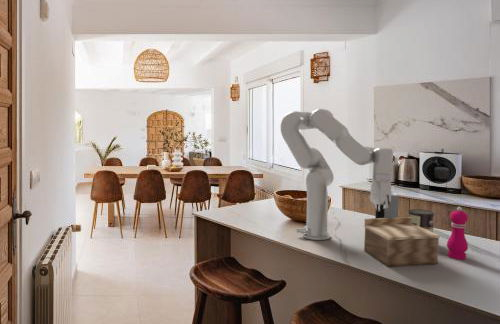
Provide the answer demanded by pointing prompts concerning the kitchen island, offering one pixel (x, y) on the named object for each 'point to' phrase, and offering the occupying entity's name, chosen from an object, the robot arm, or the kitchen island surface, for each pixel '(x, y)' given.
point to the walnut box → (401, 250)
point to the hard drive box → (392, 207)
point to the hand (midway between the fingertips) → (379, 219)
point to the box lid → (398, 228)
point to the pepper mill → (458, 235)
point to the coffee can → (422, 218)
